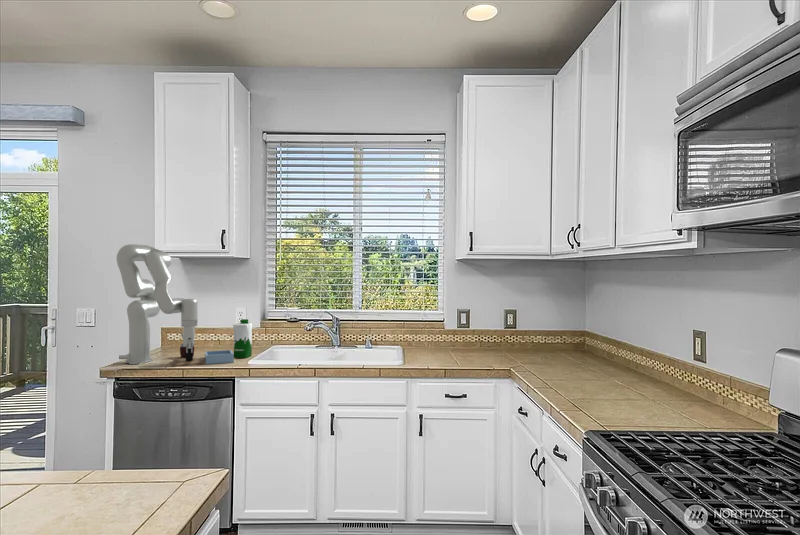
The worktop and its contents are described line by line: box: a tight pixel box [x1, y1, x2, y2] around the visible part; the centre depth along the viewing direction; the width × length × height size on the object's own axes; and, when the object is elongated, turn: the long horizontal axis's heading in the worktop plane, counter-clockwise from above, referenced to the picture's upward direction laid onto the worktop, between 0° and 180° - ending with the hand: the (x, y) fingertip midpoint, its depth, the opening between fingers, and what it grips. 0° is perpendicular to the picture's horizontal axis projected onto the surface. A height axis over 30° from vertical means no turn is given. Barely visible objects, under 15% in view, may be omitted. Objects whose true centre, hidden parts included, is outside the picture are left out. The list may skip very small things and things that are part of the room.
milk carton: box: [232, 318, 253, 359], centre depth 277 cm, size 9×9×20 cm
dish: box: [204, 349, 235, 365], centre depth 261 cm, size 13×13×5 cm
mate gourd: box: [176, 329, 195, 359], centre depth 272 cm, size 8×8×15 cm
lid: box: [172, 357, 207, 368], centre depth 256 cm, size 15×15×6 cm
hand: (189, 359), depth 256 cm, fingers open, 3 cm apart
